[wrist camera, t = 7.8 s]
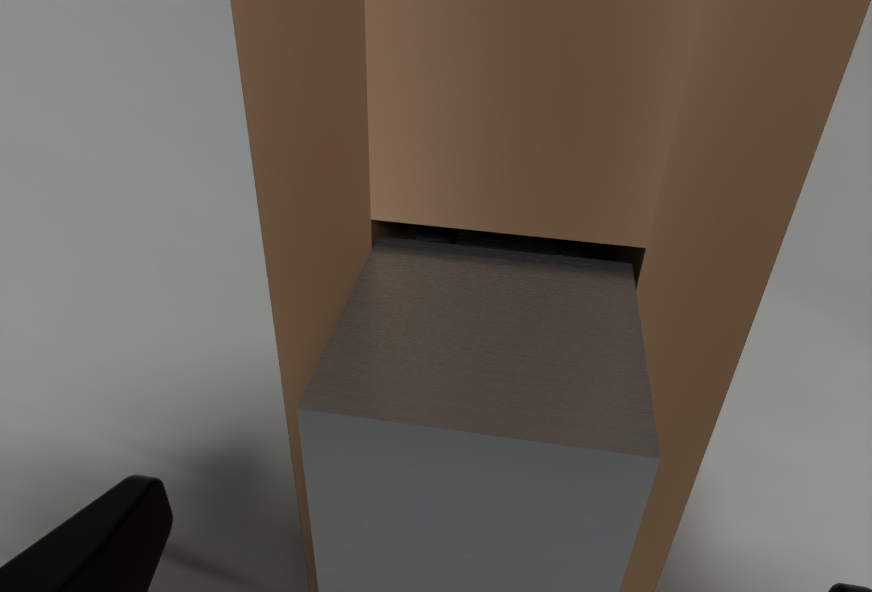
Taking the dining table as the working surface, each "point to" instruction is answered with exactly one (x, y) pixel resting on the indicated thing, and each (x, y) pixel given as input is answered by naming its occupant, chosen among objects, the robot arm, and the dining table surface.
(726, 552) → the dining table surface
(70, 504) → the dining table surface
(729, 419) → the dining table surface
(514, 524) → the grey block
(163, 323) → the dining table surface
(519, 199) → the rail
